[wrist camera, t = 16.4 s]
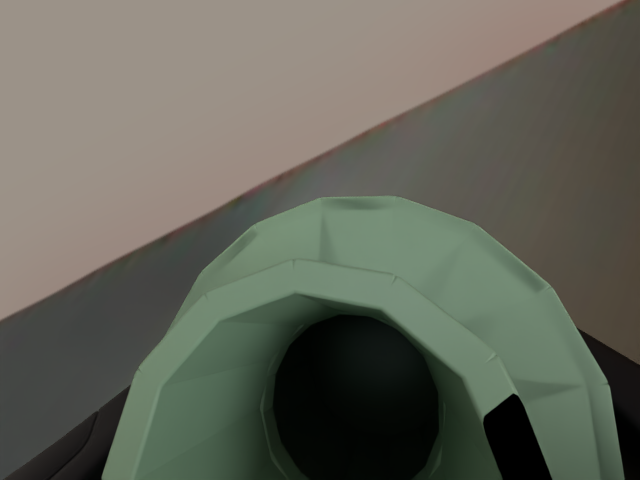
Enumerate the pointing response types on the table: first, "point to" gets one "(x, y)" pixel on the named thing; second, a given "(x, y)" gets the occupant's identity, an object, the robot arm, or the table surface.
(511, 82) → the table surface
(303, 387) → the water bottle
